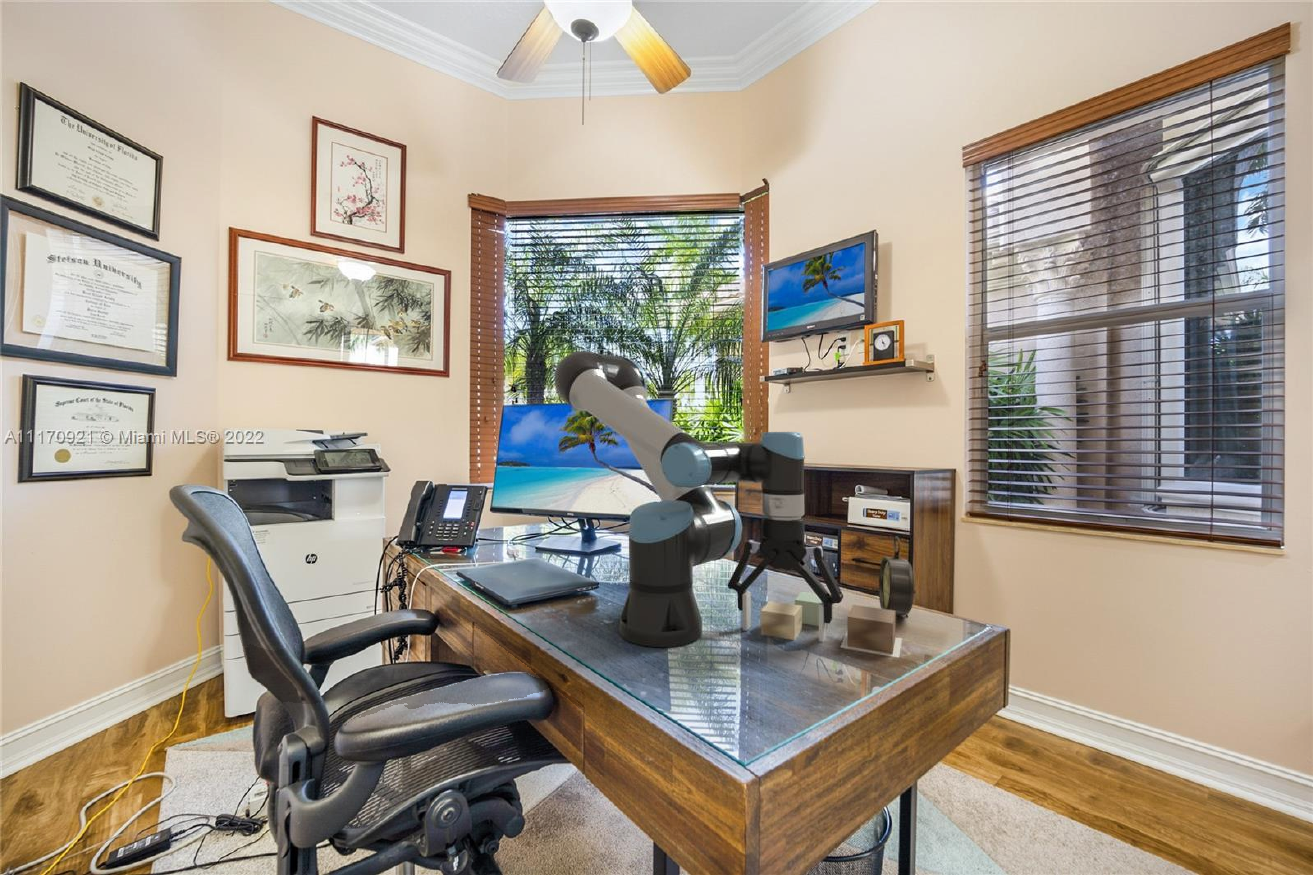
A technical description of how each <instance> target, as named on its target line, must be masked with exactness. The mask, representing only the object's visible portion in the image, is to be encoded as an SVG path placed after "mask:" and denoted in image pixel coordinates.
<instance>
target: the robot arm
mask: <svg viewBox="0 0 1313 875" xmlns="http://www.w3.org/2000/svg"><path fill="white" fill-rule="evenodd" d="M647 378H648V377H647V375H646V372H645V370H644V368H643V367H642V366H641V364H640V363H638V361H636V360H634V359H631V358H627V357H625V356H622V355H621V356H620V355H610V354H602V353H598V352H592V351H585V350H584V351H583V350H581V351H580V350H579V351H575V352H571V353H569V354H567V355H566V356H565V357H563V358H562V359H561V360H560V361H559V363H558V364H557V366H556V369H555V372H554V378H553V380H554V387H555V389H556V392H557V393H558V394H559V396H560V398H561V399H562V400H563V401H564V402H566V403H567V404H568V405H570V406H571V407H573V409H575V410H576V411H579V412H587V413H589V414H590V415H592V416H593V417H594V418H596V419H597V420H599V421H600V422H601V423H602V424H604V425H605V426H606V427H608V428H609V429H611V430H612V431H613V432H615V433H616V434H617V435H619V436H621V437H622V438H623V439H624V440H625V442H626V444H627V445H628V447H629V448H630V450H631V452H632V453H633V455H634V457H635V459H636V461H637V462H638V464H639V465H640V467H641V469H642V471H643V472H644V473H645V476H646V477H647V479H648V480H649V482H650V483H651V485H652V487H653V489H654V490H655V492H656V495H658V497H659V499H660V501H651V502H647V503H644V504H640V505H639V506H637V507H635V508H634V509H633V510H632V511H631V513H630V517H629V528H628V531H627V532H628V534H627V535H628V564H629V565H628V567H629V568H628V570H629V571H628V572H629V574H628V575H629V580H628V582H629V584H628V587H629V588H628V592H627V596H626V599H625V602H624V605H623V609H622V611H621V615H620V617H619V635H620V636H621V637H622V639H624V640H626V641H628V642H630V643H632V644H636V645H639V646H644V647H651V648H670V647H680V646H684V645H687V644H688V645H689V644H691V643H693V642H695V641H697V640H698V639H699V638H701V637H702V635H703V619H702V616H701V613H700V612H701V611H700V610H699V606H698V602H697V600H696V597H695V596H696V595H695V594H694V590H693V589H694V588H693V587H694V586H693V583H694V581H693V576H694V575H693V573H694V570H693V569H694V568H693V567H696V566H700V565H703V564H707V563H709V562H714V561H719V560H721V559H723V558H724V557H726V556H728V555H730V554H732V553H733V552H734V551H735V550H736V549H737V547H738V546H739V544H740V542H741V539H742V531H743V524H742V519H741V518H742V517H741V516H740V513H739V512H738V510H737V509H736V507H735V506H734V505H733V504H731V503H729V502H728V501H725V500H722V499H718V497H717V496H716V495H715V493H714V492H713V490H712V488H711V487H710V485H716V484H717V485H718V484H725V483H737V482H739V483H755V484H756V483H758V484H759V483H761V484H760V485H761V514H762V515H763V516H764V517H762V518H761V542H758V541H755V540H754V539H753V538H751V539H749V540H747V541H746V542H744V546H743V553H742V555H741V557H740V559H739V561H738V563H737V565H736V567H735V569H734V571H733V573H732V575H731V576H730V577H731V578H730V579H729V581H728V583H727V588H728V589H729V590H733V591H735V592H736V594H737V610H738V611H742V631H745V632H747V631H748V630H749V629H750V628H752V592H751V591H749V590H748V589H749V587H750V586H751V585H752V584H754V582H755V581H756V580H757V579H758V578H759V577H760V576H761V574H762V573H763V572H764V571H765V570H766V569H767V568H768V567H769V566H770V567H771V568H772V569H774V570H779V569H780V570H782V569H783V570H785V571H792V570H795V571H796V573H797V574H799V575H800V576H801V577H802V578H803V580H804V581H805V582H806V583H807V585H808V586H809V587H810V589H811V590H812V591H813V593H816V595H817V596H818V597H819V599H820V600H821V603H820V604H819V626H818V642H821V643H822V642H823V643H824V642H825V640H826V637H827V627H826V623H828V624H829V625H830V624H831V622H832V620H833V618H832V604H833V605H834V604H840V603H841V602H842V600H843V599H844V595H843V593H842V592H843V591H842V590H841V588H840V587H839V584H838V582H837V580H836V578H835V576H834V573H833V572H832V571H831V567H829V564H828V563H827V561H826V559H825V554H824V547H823V546H822V545H820V544H819V545H817V546H806V543H805V541H806V540H805V539H806V538H805V520H804V519H803V518H802V517H803V516H804V515H805V488H804V487H805V484H804V483H805V458H806V456H805V450H804V447H805V446H804V438H803V435H802V433H800V432H797V431H771V432H770V431H765V432H762V434H761V437H760V442H729V441H719V442H702V441H700V440H698V439H697V438H695V437H693V436H692V435H690V434H689V433H687V432H686V431H685V430H684V429H682V428H680V427H679V426H677V425H675V424H674V423H673V422H671V421H669V420H668V419H666V418H665V417H664V416H662V415H660V414H659V413H657V412H656V411H655V410H653V409H651V407H650V405H649V404H648V403H647V400H648V396H649V393H648V391H647V390H648V384H647V382H648V379H647ZM758 550H759V552H760V553H761V555H762V556H763V557H764V558H763V559H762V561H761V562H759V563H758V565H757V566H756V567H755V568H754V570H753V571H752V572H750V574H749V575H748V576H747V577H746V578H745V579H744V581H743V582H740V580H741V579H742V577H743V574H744V572H745V570H747V569H746V568H747V567H748V565H749V563H750V561H751V558H752V557H753V555H754V554H755V553H757V552H758ZM806 555H808V556H810V558H811V560H814V562H815V565H816V568H817V569H818V571H819V574H820V575H821V577H822V579H823V582H824V583H825V586H826V587H827V589H828V590H827V589H826V587H825V586H824V585H823V584H822V582H821V580H819V579H818V577H817V576H816V575H815V574H814V572H813V571H812V570H811V569H810V568H809V565H808V564H807V563H806V561H805V560H804V558H805V557H806Z"/></svg>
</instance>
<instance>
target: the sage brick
mask: <svg viewBox="0 0 1313 875" xmlns="http://www.w3.org/2000/svg"><path fill="white" fill-rule="evenodd" d="M820 603H821V600H820V599H819V597H818V596H817V595H816V593H815V592H808V591H801V592H800V593H799V594H798V596H796V598H795V599H794V605H801V606H802V625H803V624H805V625H811V626H814V627H815V626H816V627H819V604H820ZM833 618H834V604H832V619H833ZM829 626H830V624H828V623H826V629H827V628H829Z"/></svg>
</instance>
